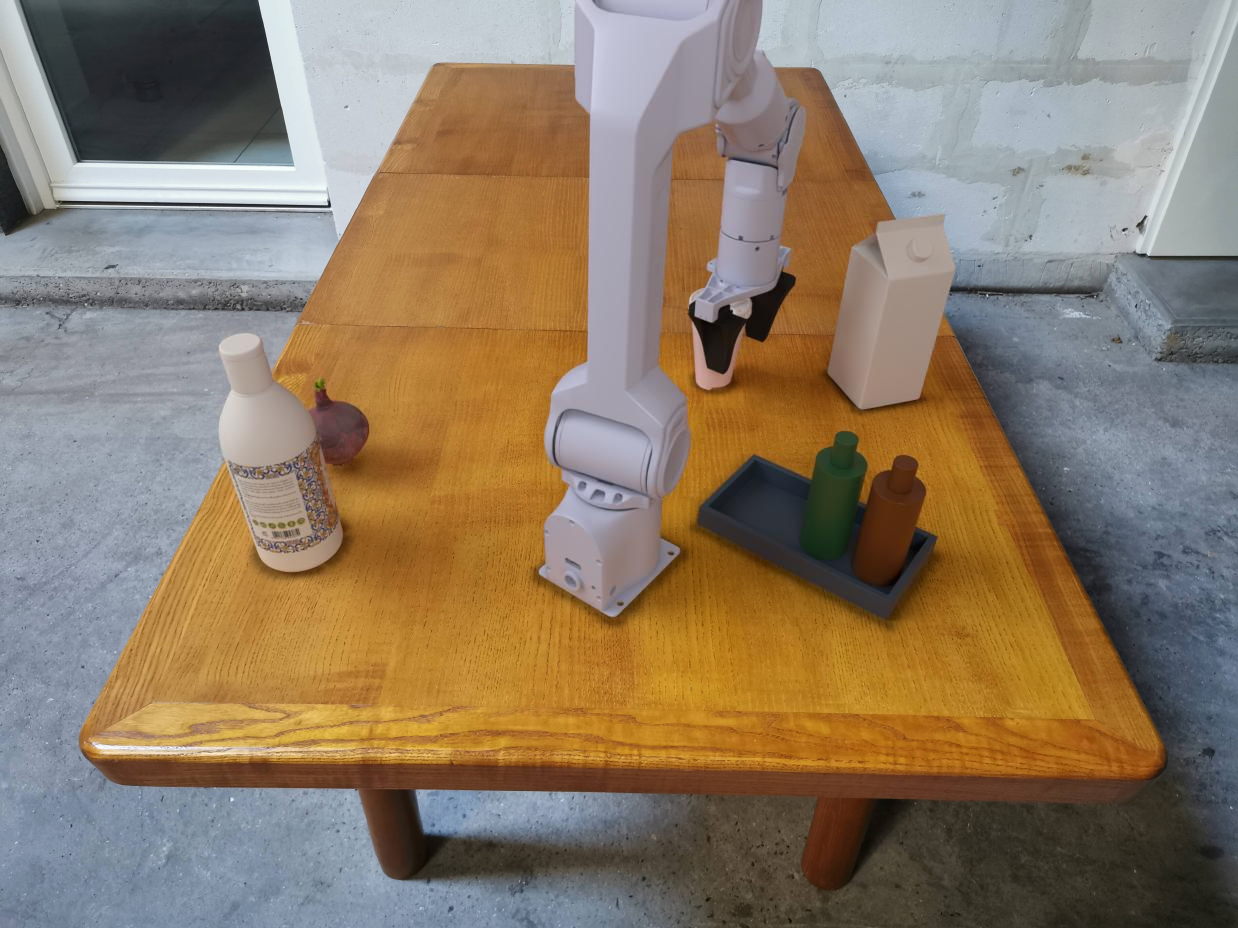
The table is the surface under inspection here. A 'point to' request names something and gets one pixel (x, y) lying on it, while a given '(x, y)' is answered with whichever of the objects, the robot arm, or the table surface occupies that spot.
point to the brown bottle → (889, 523)
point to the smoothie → (702, 373)
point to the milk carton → (891, 311)
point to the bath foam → (276, 463)
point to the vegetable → (338, 427)
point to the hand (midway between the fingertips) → (736, 353)
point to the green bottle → (833, 498)
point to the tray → (799, 533)
